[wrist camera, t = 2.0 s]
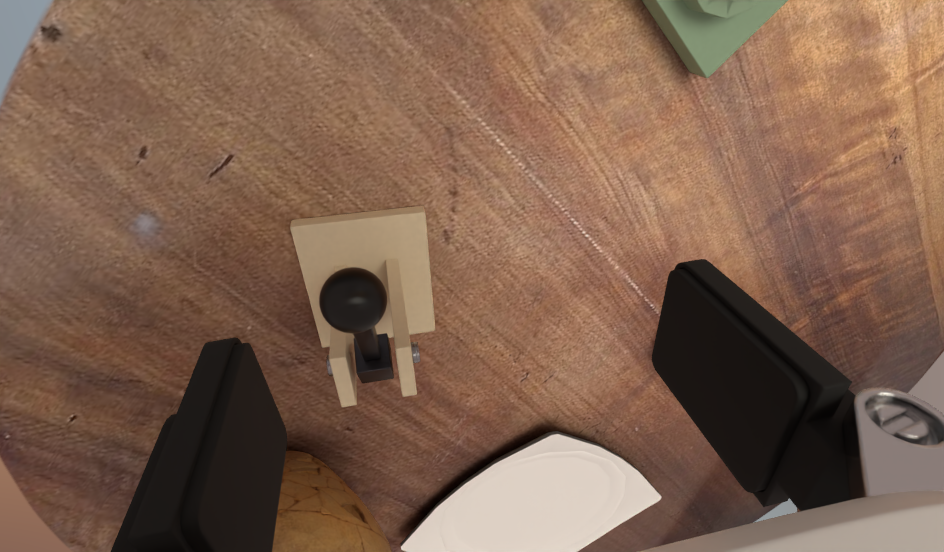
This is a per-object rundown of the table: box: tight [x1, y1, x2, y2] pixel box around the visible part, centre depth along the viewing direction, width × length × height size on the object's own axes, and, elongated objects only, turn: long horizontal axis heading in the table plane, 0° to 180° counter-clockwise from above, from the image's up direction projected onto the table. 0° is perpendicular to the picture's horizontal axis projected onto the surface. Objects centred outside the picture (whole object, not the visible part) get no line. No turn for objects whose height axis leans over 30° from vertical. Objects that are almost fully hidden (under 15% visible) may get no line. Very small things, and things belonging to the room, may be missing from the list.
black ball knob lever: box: [319, 267, 394, 383], centre depth 28 cm, size 13×3×3 cm
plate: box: [401, 431, 661, 552], centre depth 64 cm, size 29×29×3 cm
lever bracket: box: [290, 206, 435, 407], centre depth 35 cm, size 12×10×12 cm
